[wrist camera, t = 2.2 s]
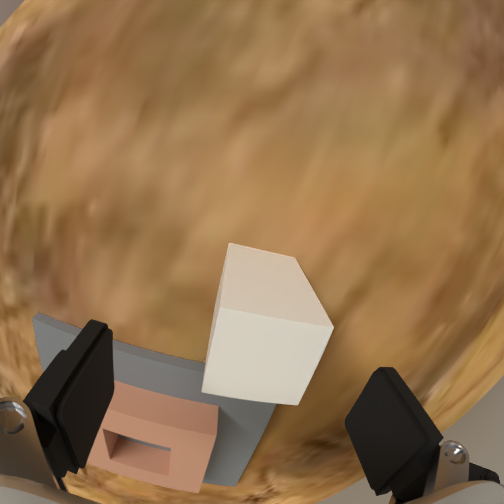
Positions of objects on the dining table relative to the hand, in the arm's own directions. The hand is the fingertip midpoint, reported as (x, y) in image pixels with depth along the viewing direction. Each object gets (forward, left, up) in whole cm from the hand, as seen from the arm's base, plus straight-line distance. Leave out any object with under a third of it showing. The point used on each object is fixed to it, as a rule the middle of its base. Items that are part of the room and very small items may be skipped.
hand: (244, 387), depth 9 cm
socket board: (+5, +16, -9) cm, 19 cm away
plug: (-1, 0, -9) cm, 9 cm away
